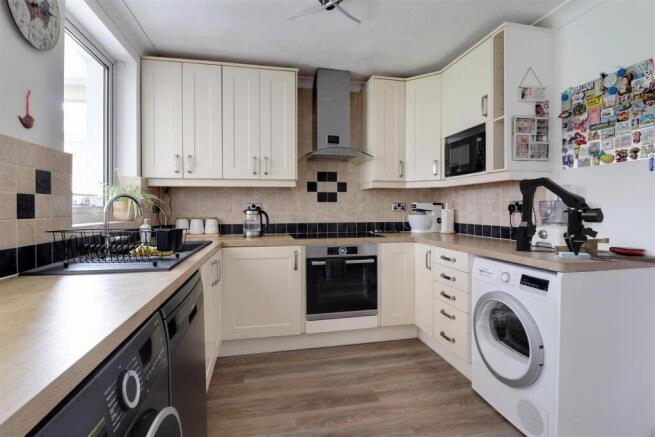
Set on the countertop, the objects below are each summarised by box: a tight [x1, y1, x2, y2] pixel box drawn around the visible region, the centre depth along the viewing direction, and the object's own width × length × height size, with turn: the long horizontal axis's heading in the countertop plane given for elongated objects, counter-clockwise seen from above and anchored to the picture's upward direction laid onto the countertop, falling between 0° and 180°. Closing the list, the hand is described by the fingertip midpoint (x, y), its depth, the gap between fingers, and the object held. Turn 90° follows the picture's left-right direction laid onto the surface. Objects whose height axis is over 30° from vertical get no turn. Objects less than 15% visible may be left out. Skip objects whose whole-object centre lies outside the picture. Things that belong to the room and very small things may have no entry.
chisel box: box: [554, 238, 599, 258], centre depth 158 cm, size 16×6×8 cm, turn 63°
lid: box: [558, 252, 592, 260], centre depth 151 cm, size 11×7×2 cm, turn 63°
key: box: [588, 237, 610, 244], centre depth 154 cm, size 8×3×2 cm, turn 63°
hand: (574, 254), depth 151 cm, fingers open, 9 cm apart
